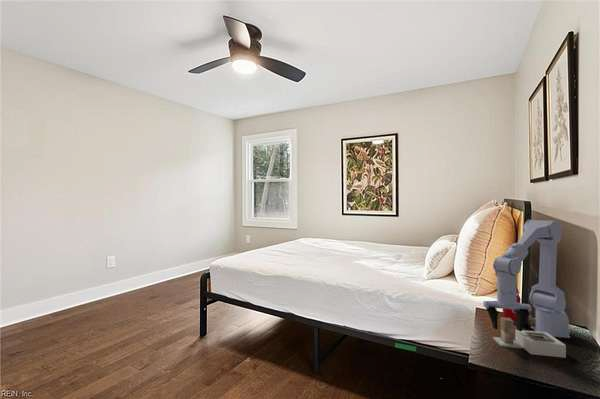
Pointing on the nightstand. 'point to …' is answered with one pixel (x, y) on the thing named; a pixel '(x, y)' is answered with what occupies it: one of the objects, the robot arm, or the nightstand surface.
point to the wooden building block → (507, 330)
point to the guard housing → (540, 343)
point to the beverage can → (511, 311)
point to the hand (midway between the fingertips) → (506, 329)
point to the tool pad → (501, 343)
